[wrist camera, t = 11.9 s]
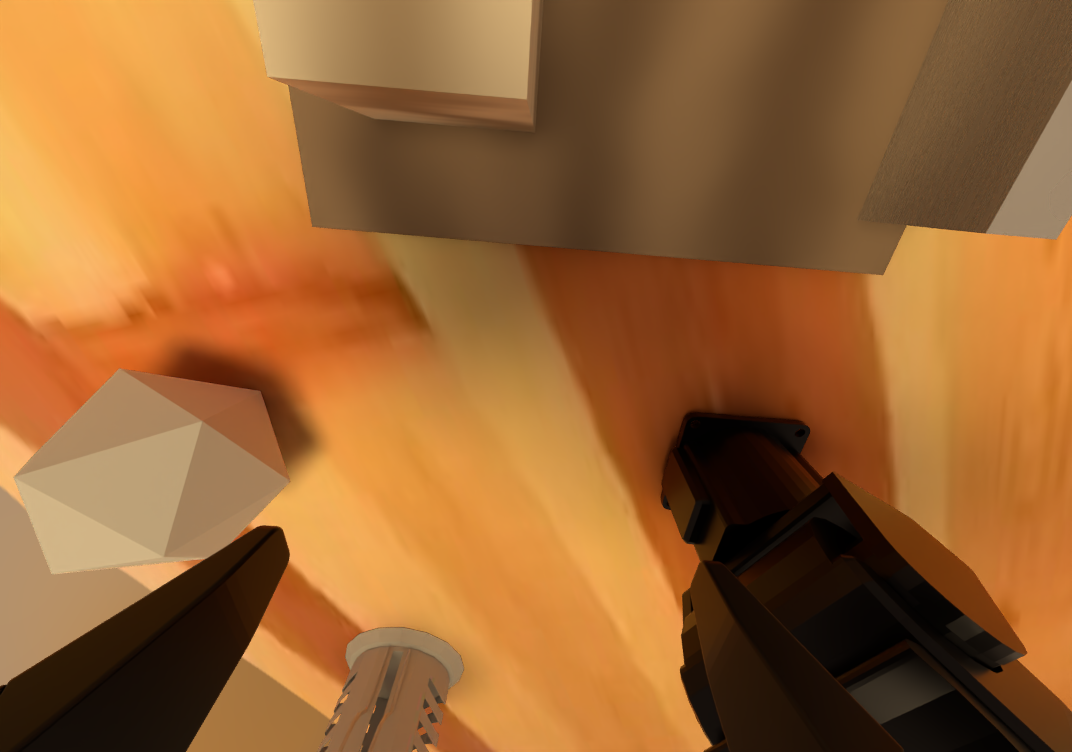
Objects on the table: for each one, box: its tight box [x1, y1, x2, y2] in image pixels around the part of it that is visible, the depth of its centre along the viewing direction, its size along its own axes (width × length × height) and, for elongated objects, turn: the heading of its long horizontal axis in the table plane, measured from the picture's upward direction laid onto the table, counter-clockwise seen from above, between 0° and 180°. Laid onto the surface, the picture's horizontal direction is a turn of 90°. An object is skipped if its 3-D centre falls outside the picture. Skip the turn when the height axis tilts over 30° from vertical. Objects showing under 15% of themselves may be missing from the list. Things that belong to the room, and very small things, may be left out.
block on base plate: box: [288, 0, 1072, 275], centre depth 11 cm, size 24×14×6 cm, turn 86°
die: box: [14, 369, 290, 574], centre depth 18 cm, size 8×9×10 cm
